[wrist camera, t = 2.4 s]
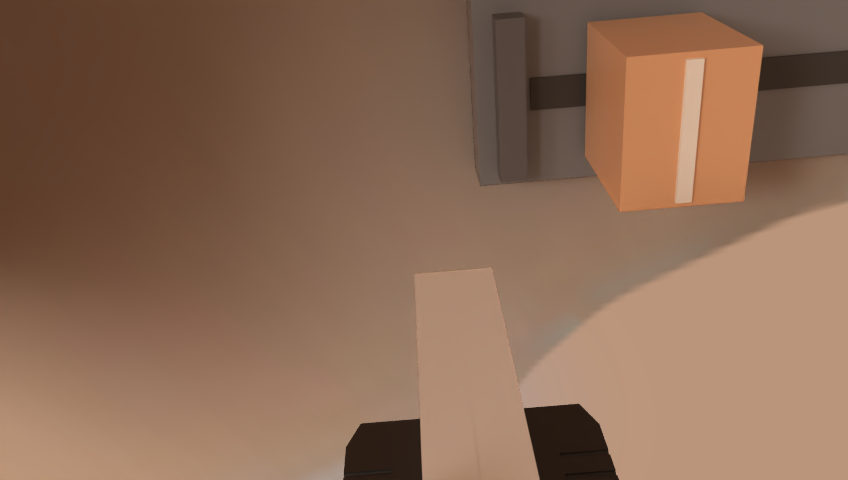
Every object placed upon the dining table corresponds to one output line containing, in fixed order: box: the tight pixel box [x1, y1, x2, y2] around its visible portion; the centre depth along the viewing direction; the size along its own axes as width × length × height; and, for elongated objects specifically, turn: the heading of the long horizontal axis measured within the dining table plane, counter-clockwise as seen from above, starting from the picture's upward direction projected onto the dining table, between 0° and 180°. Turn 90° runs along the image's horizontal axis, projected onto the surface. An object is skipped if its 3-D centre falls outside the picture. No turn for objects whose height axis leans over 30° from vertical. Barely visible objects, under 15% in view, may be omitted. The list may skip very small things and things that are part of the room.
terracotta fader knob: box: [585, 12, 763, 212], centre depth 26 cm, size 4×5×5 cm
